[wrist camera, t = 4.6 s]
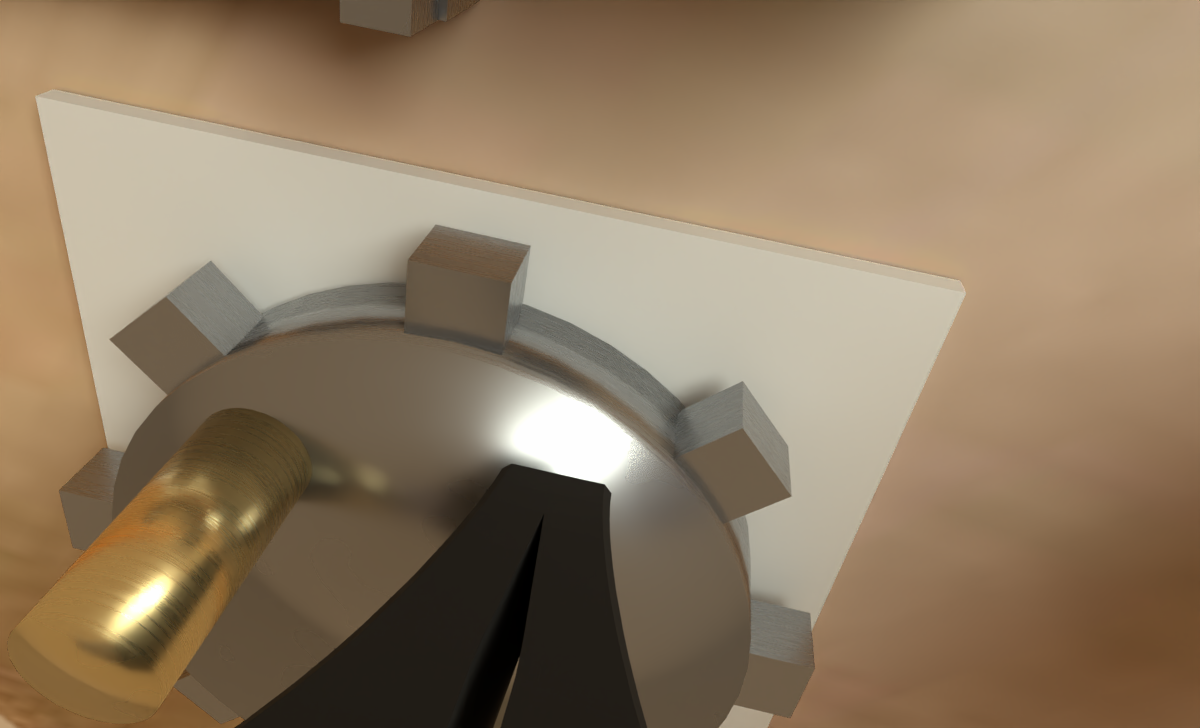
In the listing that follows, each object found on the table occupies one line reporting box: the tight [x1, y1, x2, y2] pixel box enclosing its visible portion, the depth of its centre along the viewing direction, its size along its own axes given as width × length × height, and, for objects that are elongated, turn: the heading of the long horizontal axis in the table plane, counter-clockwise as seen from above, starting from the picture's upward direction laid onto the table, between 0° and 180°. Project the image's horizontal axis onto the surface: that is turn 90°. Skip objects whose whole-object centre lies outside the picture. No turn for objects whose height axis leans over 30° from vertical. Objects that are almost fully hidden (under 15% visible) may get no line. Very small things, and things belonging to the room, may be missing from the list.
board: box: [35, 89, 966, 728], centre depth 16 cm, size 14×14×1 cm
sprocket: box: [7, 225, 815, 728], centre depth 13 cm, size 13×13×6 cm
